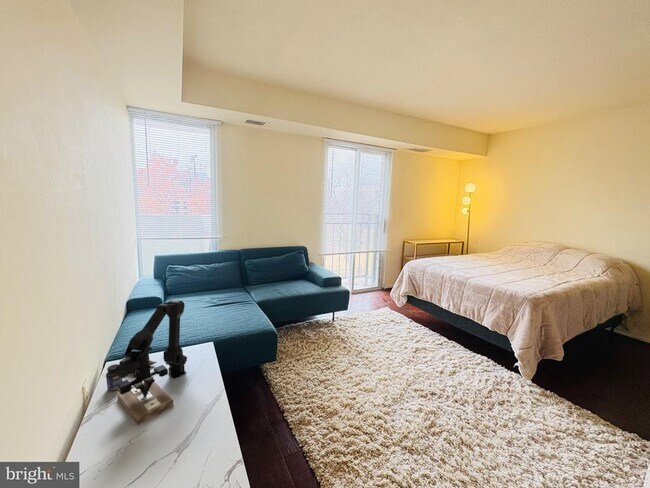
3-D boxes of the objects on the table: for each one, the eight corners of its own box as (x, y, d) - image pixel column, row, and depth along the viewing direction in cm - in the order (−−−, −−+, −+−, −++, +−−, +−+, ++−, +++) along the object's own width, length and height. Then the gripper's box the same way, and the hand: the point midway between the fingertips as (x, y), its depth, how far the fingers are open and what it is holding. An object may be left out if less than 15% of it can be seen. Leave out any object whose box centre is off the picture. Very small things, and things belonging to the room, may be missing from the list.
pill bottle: (114, 392, 133) (112, 371, 132) (104, 391, 134) (101, 369, 133) (126, 384, 139) (124, 364, 138) (116, 383, 140) (113, 362, 139)
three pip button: (149, 397, 130) (148, 391, 130) (153, 402, 127) (153, 395, 126) (137, 403, 126) (136, 396, 126) (141, 408, 123) (140, 401, 123)
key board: (151, 384, 139) (151, 378, 139) (173, 405, 125) (173, 399, 124) (118, 399, 128) (117, 393, 128) (137, 425, 114) (137, 418, 113)
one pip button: (156, 404, 125) (156, 398, 125) (161, 409, 122) (160, 403, 122) (144, 411, 121) (143, 404, 121) (148, 416, 118) (147, 409, 118)
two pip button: (142, 390, 135) (142, 383, 134) (146, 394, 132) (146, 388, 131) (130, 395, 131) (130, 389, 131) (134, 400, 128) (133, 393, 127)
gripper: (157, 349, 136) (159, 379, 138) (110, 366, 122) (114, 399, 124) (167, 357, 129) (169, 388, 132) (119, 376, 115) (122, 411, 117)
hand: (145, 396), depth 126 cm, fingers closed, pressing on three pip button
